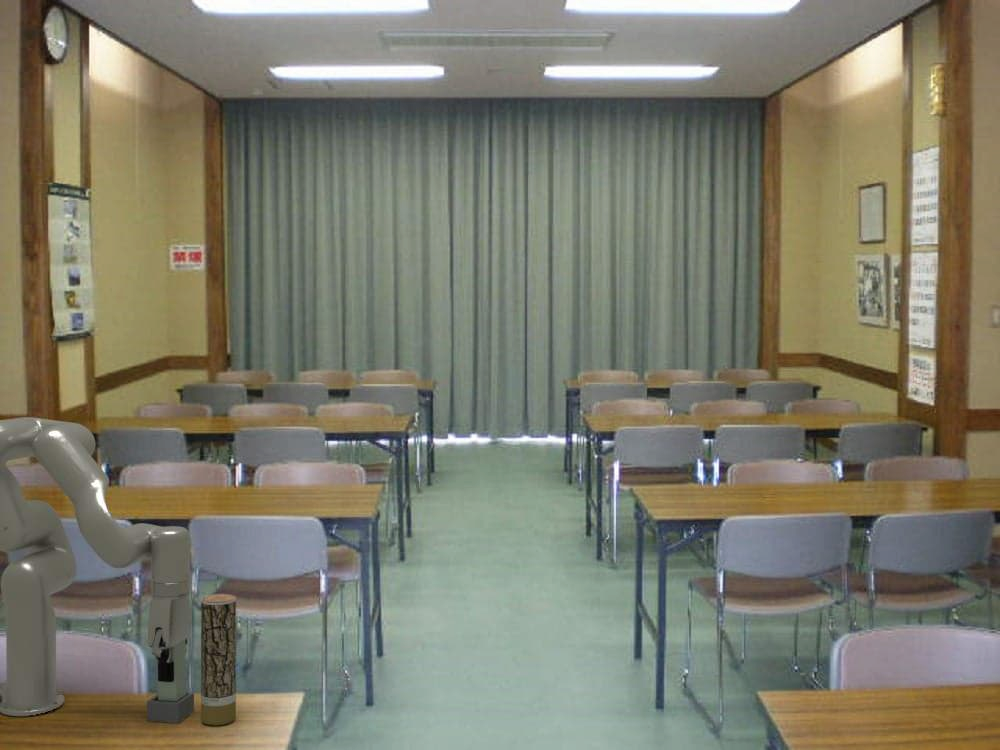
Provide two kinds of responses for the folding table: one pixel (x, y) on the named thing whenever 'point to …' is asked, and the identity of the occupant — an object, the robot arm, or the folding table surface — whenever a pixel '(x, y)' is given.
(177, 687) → the peg
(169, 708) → the socket block
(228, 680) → the bark log chew toy
